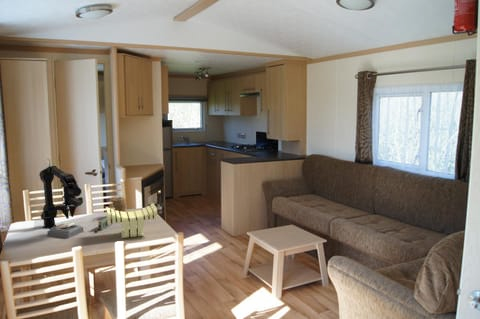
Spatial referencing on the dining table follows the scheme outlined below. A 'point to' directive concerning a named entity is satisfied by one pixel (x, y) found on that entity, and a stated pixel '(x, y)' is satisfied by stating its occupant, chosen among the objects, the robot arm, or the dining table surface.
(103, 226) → the handheld radio
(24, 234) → the dining table surface
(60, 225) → the breaker switch
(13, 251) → the dining table surface
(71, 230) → the frame
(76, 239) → the dining table surface
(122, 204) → the stone cup
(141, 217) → the slatted curved stool
